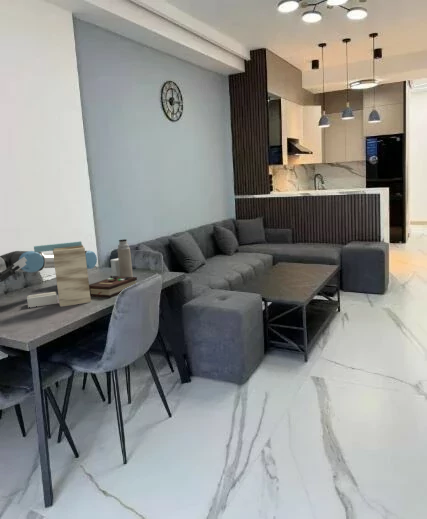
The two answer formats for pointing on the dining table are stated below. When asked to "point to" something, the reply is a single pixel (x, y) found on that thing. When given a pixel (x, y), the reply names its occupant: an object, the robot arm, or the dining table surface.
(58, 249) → the pedestal
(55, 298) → the dock
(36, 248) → the bar
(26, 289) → the dining table surface
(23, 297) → the dining table surface
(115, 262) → the skincare box
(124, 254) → the thermos bottle
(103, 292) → the decorative book
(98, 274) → the dining table surface
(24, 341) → the dining table surface
